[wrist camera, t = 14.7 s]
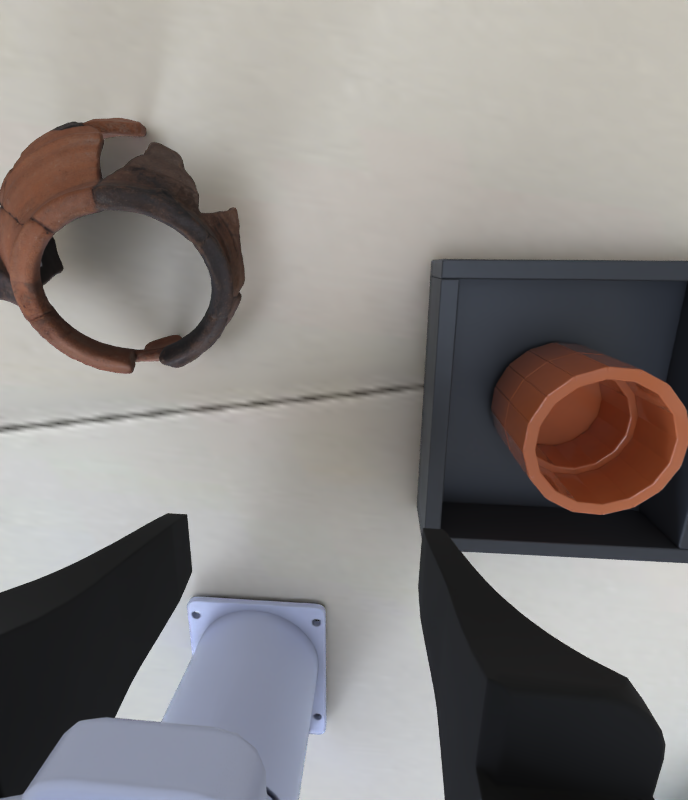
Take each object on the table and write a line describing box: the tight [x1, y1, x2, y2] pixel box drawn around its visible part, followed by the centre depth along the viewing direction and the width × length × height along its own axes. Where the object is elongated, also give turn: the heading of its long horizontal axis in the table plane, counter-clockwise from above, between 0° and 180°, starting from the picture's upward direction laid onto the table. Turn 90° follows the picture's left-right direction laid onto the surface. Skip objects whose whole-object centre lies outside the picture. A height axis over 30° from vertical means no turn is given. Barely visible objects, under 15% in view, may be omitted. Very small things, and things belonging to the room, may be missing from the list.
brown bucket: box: [491, 342, 688, 515], centre depth 19 cm, size 6×6×6 cm
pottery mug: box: [0, 118, 245, 374], centre depth 19 cm, size 12×10×8 cm
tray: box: [417, 259, 688, 563], centre depth 20 cm, size 12×11×4 cm
